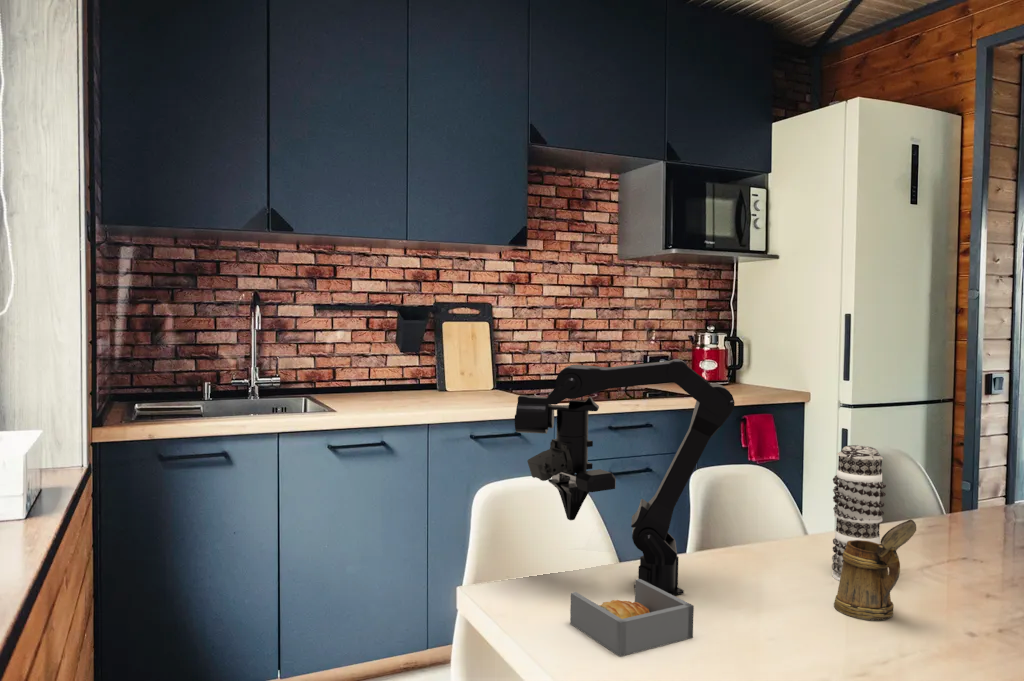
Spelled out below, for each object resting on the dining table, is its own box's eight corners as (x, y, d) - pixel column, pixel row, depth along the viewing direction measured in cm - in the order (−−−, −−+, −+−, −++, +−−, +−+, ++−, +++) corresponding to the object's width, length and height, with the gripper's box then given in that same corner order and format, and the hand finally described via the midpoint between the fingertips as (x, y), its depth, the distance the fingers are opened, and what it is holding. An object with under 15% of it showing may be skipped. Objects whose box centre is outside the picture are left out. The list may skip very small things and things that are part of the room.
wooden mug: (885, 635, 120) (890, 522, 119) (822, 603, 132) (826, 500, 131) (928, 628, 123) (932, 517, 122) (862, 597, 135) (866, 497, 134)
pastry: (631, 610, 128) (632, 588, 128) (660, 625, 123) (661, 602, 123) (589, 623, 123) (589, 600, 123) (617, 639, 118) (618, 614, 117)
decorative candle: (834, 584, 142) (838, 450, 141) (825, 567, 151) (830, 442, 150) (887, 589, 140) (892, 453, 138) (876, 572, 149) (880, 444, 147)
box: (639, 607, 129) (639, 578, 129) (692, 637, 118) (693, 605, 118) (570, 623, 122) (570, 592, 122) (619, 656, 111) (620, 622, 111)
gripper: (507, 430, 142) (506, 513, 143) (565, 446, 126) (564, 539, 127) (556, 426, 148) (555, 506, 149) (618, 441, 132) (616, 530, 133)
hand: (571, 519), depth 139 cm, fingers closed
